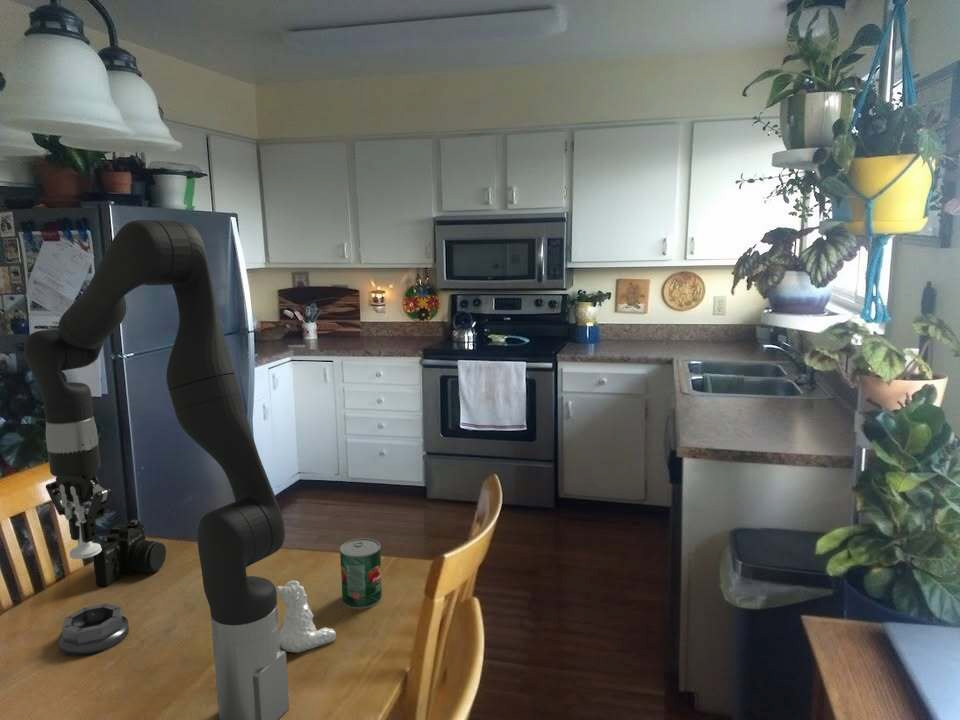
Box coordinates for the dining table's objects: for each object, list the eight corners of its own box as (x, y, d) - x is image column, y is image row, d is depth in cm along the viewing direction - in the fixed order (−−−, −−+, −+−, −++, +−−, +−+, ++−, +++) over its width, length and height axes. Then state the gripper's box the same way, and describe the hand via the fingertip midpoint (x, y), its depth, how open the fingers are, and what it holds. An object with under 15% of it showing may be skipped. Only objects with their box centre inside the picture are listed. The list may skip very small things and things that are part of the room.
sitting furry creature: (339, 639, 121) (336, 577, 119) (302, 664, 114) (298, 599, 112) (301, 624, 127) (298, 563, 124) (264, 647, 119) (260, 583, 117)
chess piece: (94, 544, 123) (89, 491, 121) (106, 551, 120) (100, 498, 118) (65, 553, 119) (58, 499, 118) (76, 562, 116) (69, 506, 115)
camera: (134, 591, 139) (129, 545, 137) (88, 587, 141) (83, 541, 139) (176, 560, 152) (172, 518, 151) (133, 556, 154) (129, 515, 153)
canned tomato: (386, 604, 133) (384, 551, 131) (346, 612, 130) (343, 558, 128) (377, 585, 140) (375, 535, 138) (338, 593, 137) (336, 542, 136)
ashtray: (142, 627, 125) (140, 607, 125) (89, 662, 115) (87, 640, 115) (99, 616, 129) (97, 597, 129) (44, 648, 119) (41, 627, 119)
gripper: (23, 446, 115) (36, 542, 118) (82, 455, 110) (93, 555, 113) (64, 434, 122) (75, 525, 125) (121, 442, 117) (131, 537, 120)
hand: (84, 539), depth 119 cm, fingers closed on chess piece
